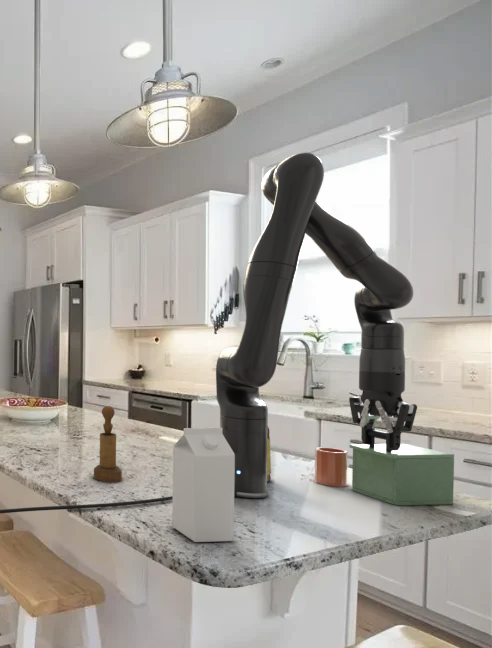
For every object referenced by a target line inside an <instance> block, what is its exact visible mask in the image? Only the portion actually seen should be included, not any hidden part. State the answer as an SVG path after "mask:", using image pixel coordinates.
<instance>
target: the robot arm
mask: <svg viewBox="0 0 492 648" xmlns="http://www.w3.org/2000/svg"><path fill="white" fill-rule="evenodd" d="M324 177H325V168H324V164H323V162H322V160H321V159H320V158H319V157H318V156H317V155H315V154H314V153H311V152H299V153H295V154H293V155H290V156H289V157H287V158H285V159H284V160H282V161H281V162H279V163H278V164H276V165H275V166H273V167H272V168H271V169H269V170H268V171H267V172H265V175H264V176H263V178H262V180H261V184H260V185H261V187H260V188H261V191H262V192H261V193H262V194H263V196H264V197H265V198H266V200H267V201H268V202H269V203H270V204H272V205H273V208H272V212H271V215H270V218H269V220H268V222H267V224H266V225H265V228H264V230H263V232H262V233H261V235H260V236H259V238H258V240H257V242H256V243H255V245H254V247H253V250H252V252H251V253H250V256H249V259H248V262H247V265H246V270H245V275H244V278H243V283H242V294H243V295H242V296H243V303H244V308H245V309H244V310H245V323H244V328H243V332H242V336H241V339H240V342H239V345H232V346H228V347H226V348H225V349H223V350H222V351H221V352H220V353H219V355H218V357H217V360H216V365H215V386H216V387H215V388H216V390H215V391H216V400H217V404H218V407H219V428H222V434H223V436H224V437H225V439H226V441H227V442H228V444H229V446H230V447H231V449H232V451H233V452H234V454H235V476H234V497H238V498H244V499H245V498H246V499H262V498H266V497H268V481H267V432H268V428H269V425H268V422H269V420H268V419H269V409H268V406H267V404H266V403H265V401H264V402H263V401H262V400H263V399H262V398H261V395H260V388H262V387H264V386H265V385H267V384H268V383H269V382H270V381H271V380H272V379H273V377H274V375H275V372H276V369H277V365H278V357H279V349H280V342H281V341H280V340H281V333H282V327H283V324H284V319H285V315H286V312H287V308H288V304H289V299H290V294H291V291H292V288H293V286H294V281H295V278H296V274H297V270H298V264H299V260H300V256H301V252H302V248H303V244H304V240H305V236H308V237H309V239H311V240H312V241H313V242H314V243H315V244H316V246H317V247H318V248H319V249H320V250H321V251H322V252H323V254H324V255H325V256H326V257H327V258H328V260H329V261H330V262H331V263H332V265H333V266H334V267H335V269H336V270H338V272H339V273H340V274H341V275H342V276H343V277H344V278H346V279H349V280H354V281H357V282H359V284H360V285H358V287H357V288H356V291H355V294H354V298H353V301H354V308H355V312H356V316H357V320H358V323H359V326H360V329H361V336H360V342H361V343H360V348H361V349H360V354H359V361H358V363H359V365H358V366H359V367H358V389H359V390H360V391H361V395H360V396H349V398H348V401H349V408H350V413H351V418H352V422H353V423H354V424H357V425H358V426H359V427H360V428H361V442H362V443H361V444H365V445H369V436H368V435H367V431H368V430H369V429H372V430H376V428H375V426H376V423H377V421H378V420H379V419H380V420H381V422H382V423H384V425H385V428H386V431H387V433H386V440H385V444H386V449H387V450H391V451H397V450H398V449H399V448H400V444H401V437H402V436H401V434H402V433H406V432H411V431H412V429H413V425H414V422H415V417H416V414H417V410H418V405H417V404H415V403H407V402H405V401H404V399H403V398H402V394H403V393H404V392H405V390H406V356H405V355H406V354H405V327H404V326H403V324H402V323H401V322H399V321H395V320H394V319H393V315H392V311H391V310H398V309H402V308H405V307H406V306H408V305H409V304H410V303H411V301H412V300H413V299H414V288H413V287H414V286H413V285H412V283H411V281H410V280H409V278H407V276H406V275H404V274H403V273H402V272H401V271H400V270H398V269H397V268H396V267H394V266H393V265H392V264H390V262H388V261H386V260H385V259H383V258H381V257H380V256H379V255H378V254H377V252H376V251H375V250H374V249H373V248H372V246H371V245H370V243H368V241H367V240H366V239H365V238H364V237H363V235H362V234H361V233H360V232H359V231H358V230H356V229H355V228H353V227H352V226H351V225H350V224H348V223H346V222H344V221H343V220H342V219H340V218H338V217H336V216H335V215H333V214H331V213H330V212H329V211H327V210H326V209H324V207H322V206H321V205H320V204H319V203H318V202H317V198H318V195H319V193H320V191H321V188H322V185H323V182H324ZM165 501H173V495H170V496H164V497H155V498H150V499H149V498H148V499H140V500H131V501H119V502H106V503H90V504H89V503H88V504H68V505H50V506H31V507H17V508H6V509H5V508H4V509H0V514H10V513H11V514H12V513H25V512H39V511H57V510H58V511H59V510H78V509H96V508H97V509H98V508H112V507H123V506H132V505H133V506H134V505H143V504H150V503H158V502H165Z"/></svg>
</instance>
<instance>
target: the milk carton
mask: <svg viewBox="0 0 492 648" xmlns="http://www.w3.org/2000/svg"><path fill="white" fill-rule="evenodd" d="M234 476H235V454H234V452H233V451H232V449H231V447H230V446H229V444H228V442H227V441H226V439H225V437H224V436H223V434H222V428H220V427H185V428H183V434H182V435H181V436H180V437H179V439H178V440H177V441H176V442H175V444H174V445H173V446H172V496H173V500H172V506H171V507H172V509H171V510H172V511H171V512H172V513H171V515H172V516H171V519H172V520H171V522H172V523H171V527H172V528H173V529H175V530H176V531H178V532H179V533H181V535H183V536H185V537H186V538H188V539H190V540H191V541H193V542H194V543H209V542H234V539H235V537H234V536H235V535H234V534H235V496H234Z"/></svg>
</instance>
